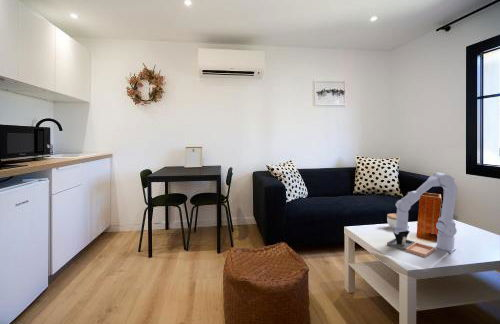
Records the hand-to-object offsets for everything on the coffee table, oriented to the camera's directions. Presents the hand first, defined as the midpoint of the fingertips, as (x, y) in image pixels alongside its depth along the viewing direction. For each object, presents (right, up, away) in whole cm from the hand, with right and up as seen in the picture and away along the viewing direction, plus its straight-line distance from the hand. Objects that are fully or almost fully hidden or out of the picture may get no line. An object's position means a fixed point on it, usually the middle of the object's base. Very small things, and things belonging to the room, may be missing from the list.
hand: (401, 243), depth 148 cm
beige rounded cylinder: (0, -1, 0) cm, 1 cm away
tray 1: (0, -2, 0) cm, 2 cm away
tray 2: (+6, -3, -8) cm, 10 cm away
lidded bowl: (+15, 0, +30) cm, 34 cm away
